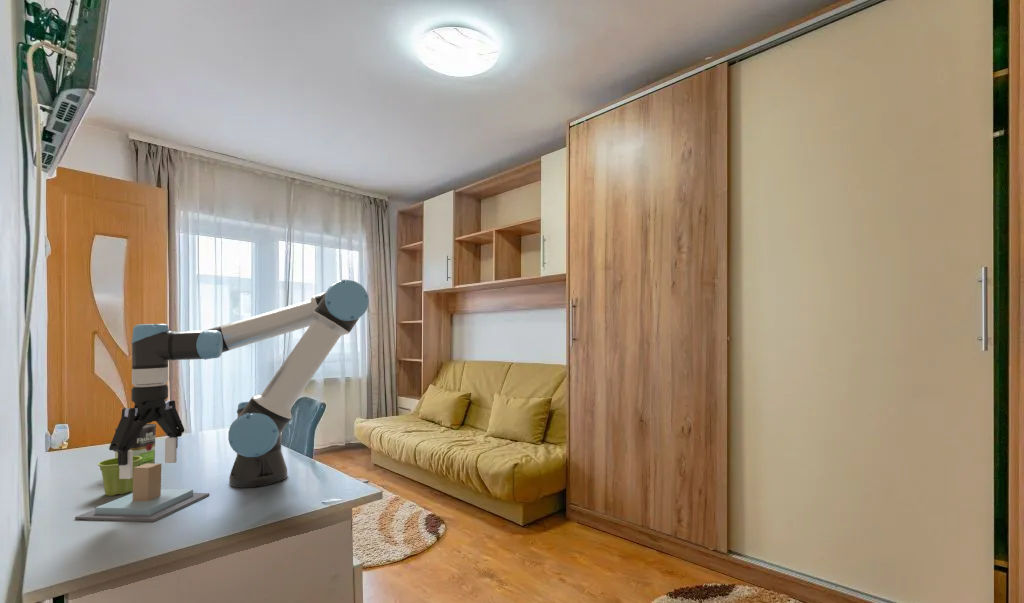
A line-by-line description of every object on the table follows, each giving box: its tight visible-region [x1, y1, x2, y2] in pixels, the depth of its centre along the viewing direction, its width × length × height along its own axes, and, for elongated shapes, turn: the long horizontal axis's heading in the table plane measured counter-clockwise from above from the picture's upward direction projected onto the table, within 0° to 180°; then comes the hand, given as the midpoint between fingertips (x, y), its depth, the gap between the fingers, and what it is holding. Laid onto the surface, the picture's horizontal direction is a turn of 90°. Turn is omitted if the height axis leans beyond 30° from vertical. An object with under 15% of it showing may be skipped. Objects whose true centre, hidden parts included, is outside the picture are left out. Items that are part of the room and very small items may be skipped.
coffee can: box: [114, 423, 157, 466], centre depth 156 cm, size 10×10×14 cm
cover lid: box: [94, 463, 194, 515], centre depth 124 cm, size 14×14×10 cm
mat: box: [74, 492, 210, 523], centre depth 124 cm, size 20×18×1 cm
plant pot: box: [97, 456, 142, 497], centre depth 136 cm, size 9×9×9 cm
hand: (149, 470), depth 124 cm, fingers open, 13 cm apart
